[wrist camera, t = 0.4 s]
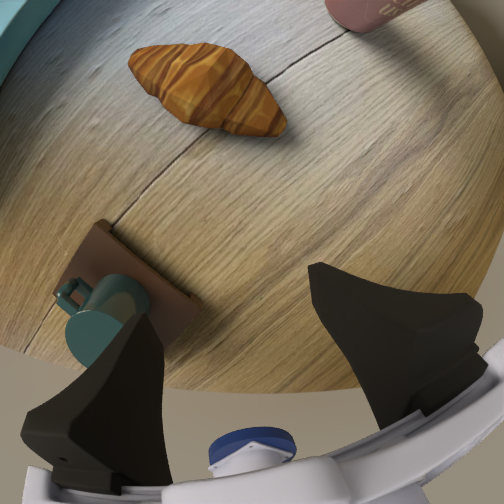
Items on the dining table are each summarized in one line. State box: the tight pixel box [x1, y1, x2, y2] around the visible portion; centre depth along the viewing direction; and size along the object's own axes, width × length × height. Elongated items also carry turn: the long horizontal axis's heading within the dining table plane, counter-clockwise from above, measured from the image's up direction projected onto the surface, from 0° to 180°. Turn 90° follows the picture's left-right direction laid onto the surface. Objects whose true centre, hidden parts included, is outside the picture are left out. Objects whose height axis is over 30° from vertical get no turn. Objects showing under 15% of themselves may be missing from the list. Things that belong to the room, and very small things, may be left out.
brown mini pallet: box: [52, 219, 202, 350], centre depth 21 cm, size 8×11×2 cm
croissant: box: [128, 43, 287, 137], centre depth 16 cm, size 14×7×5 cm, turn 61°
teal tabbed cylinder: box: [56, 274, 151, 368], centre depth 17 cm, size 5×8×6 cm
